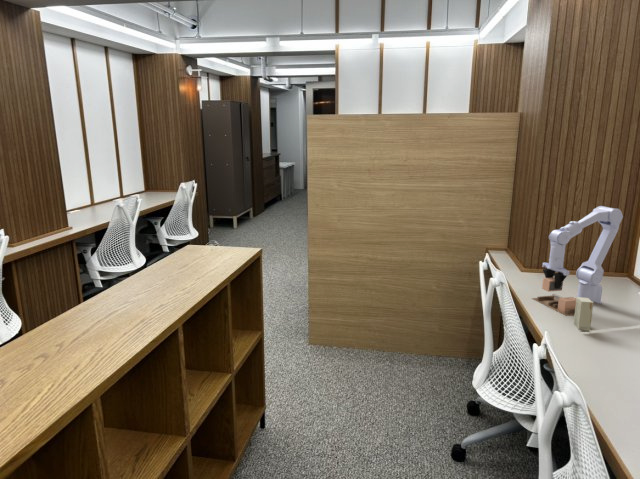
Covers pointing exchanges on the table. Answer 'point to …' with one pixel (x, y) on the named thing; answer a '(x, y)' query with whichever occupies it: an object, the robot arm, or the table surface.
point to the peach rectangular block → (550, 284)
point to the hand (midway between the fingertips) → (553, 286)
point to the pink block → (566, 304)
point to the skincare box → (583, 314)
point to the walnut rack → (553, 303)
